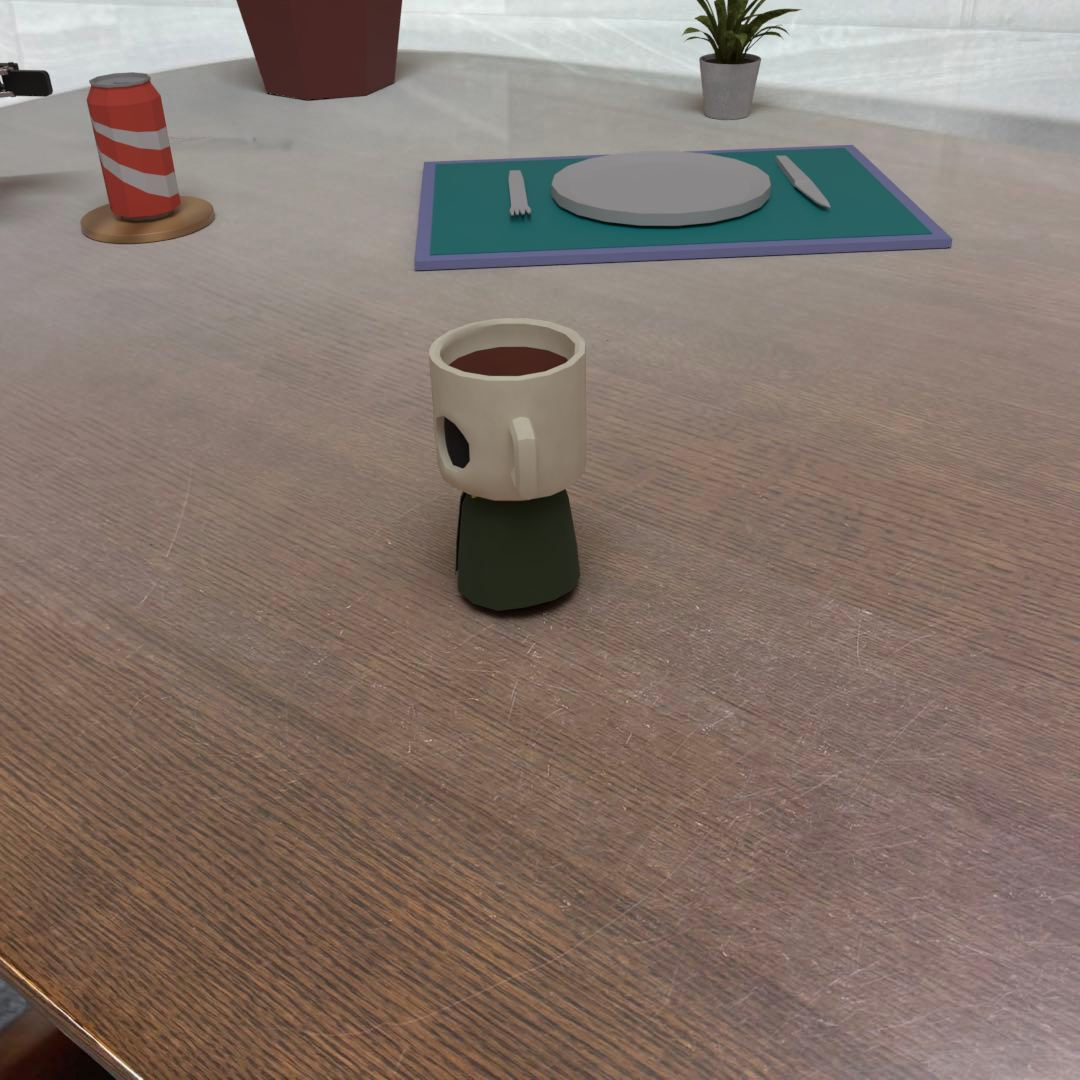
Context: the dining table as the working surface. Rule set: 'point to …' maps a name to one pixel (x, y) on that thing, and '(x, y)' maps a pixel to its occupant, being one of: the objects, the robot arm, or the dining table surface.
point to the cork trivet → (148, 223)
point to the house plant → (731, 56)
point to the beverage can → (133, 146)
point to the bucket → (323, 45)
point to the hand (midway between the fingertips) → (23, 94)
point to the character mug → (511, 454)
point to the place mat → (663, 208)
